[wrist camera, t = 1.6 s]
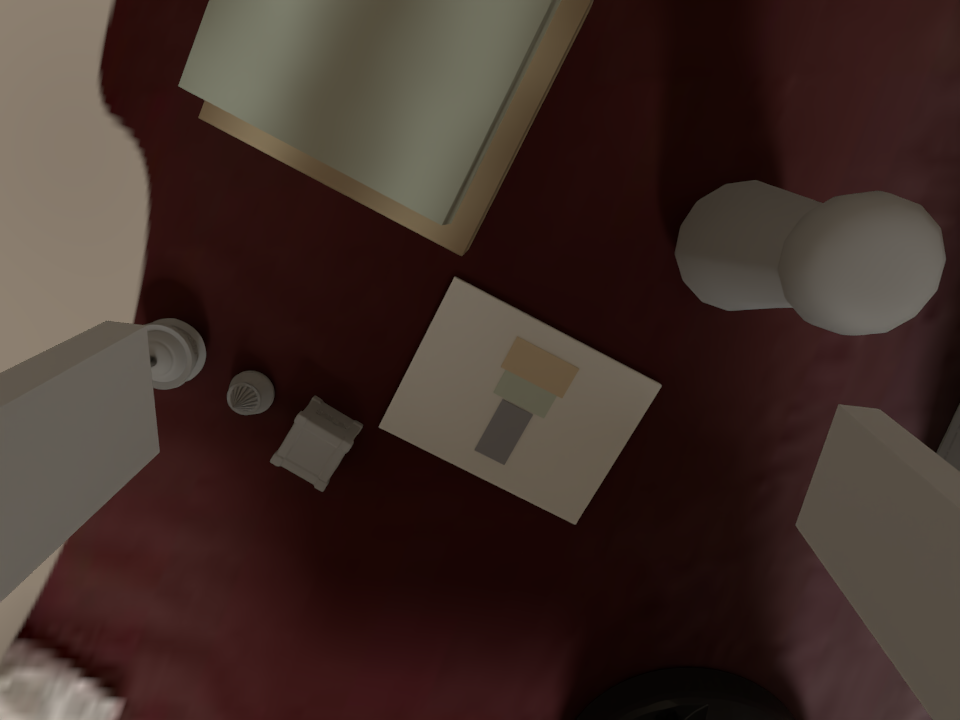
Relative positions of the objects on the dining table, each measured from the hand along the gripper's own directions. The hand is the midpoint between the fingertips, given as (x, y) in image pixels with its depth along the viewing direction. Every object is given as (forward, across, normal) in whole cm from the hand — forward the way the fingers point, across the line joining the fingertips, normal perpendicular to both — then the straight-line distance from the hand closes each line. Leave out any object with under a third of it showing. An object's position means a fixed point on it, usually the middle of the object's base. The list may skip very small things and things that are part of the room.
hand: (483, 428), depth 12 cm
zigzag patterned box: (+21, +5, -7) cm, 23 cm away
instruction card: (+19, -2, +8) cm, 21 cm away
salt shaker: (+20, -11, -1) cm, 23 cm away
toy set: (+19, +12, +9) cm, 24 cm away
